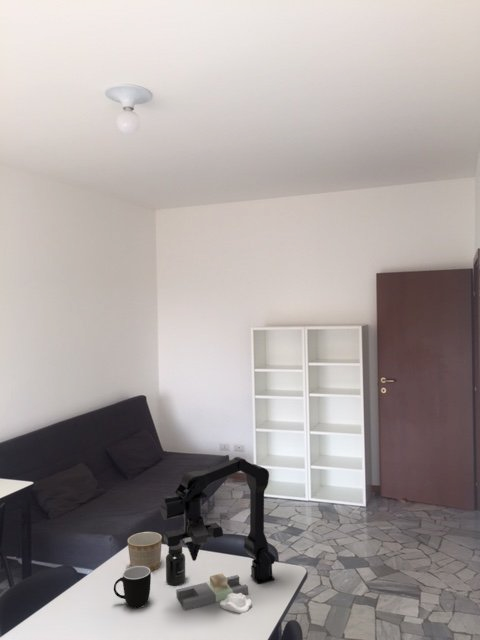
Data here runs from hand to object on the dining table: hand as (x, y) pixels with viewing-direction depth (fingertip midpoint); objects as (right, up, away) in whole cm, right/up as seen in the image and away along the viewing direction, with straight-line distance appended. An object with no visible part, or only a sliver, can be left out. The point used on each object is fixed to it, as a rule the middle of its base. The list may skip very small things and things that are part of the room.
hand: (194, 560), depth 173 cm
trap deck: (+6, -13, +2) cm, 14 cm away
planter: (-20, -14, +25) cm, 35 cm away
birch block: (+8, -10, +3) cm, 13 cm away
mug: (-20, -14, -1) cm, 24 cm away
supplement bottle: (-7, -13, +13) cm, 20 cm away
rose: (+14, -13, -4) cm, 19 cm away
